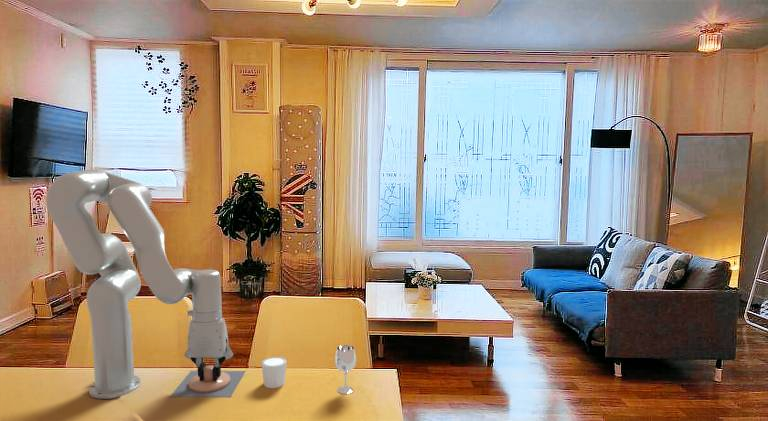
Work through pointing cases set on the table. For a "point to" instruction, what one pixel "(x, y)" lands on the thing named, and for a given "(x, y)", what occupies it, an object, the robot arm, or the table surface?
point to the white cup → (274, 372)
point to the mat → (185, 391)
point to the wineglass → (345, 364)
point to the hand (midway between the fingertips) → (209, 378)
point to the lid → (209, 381)
